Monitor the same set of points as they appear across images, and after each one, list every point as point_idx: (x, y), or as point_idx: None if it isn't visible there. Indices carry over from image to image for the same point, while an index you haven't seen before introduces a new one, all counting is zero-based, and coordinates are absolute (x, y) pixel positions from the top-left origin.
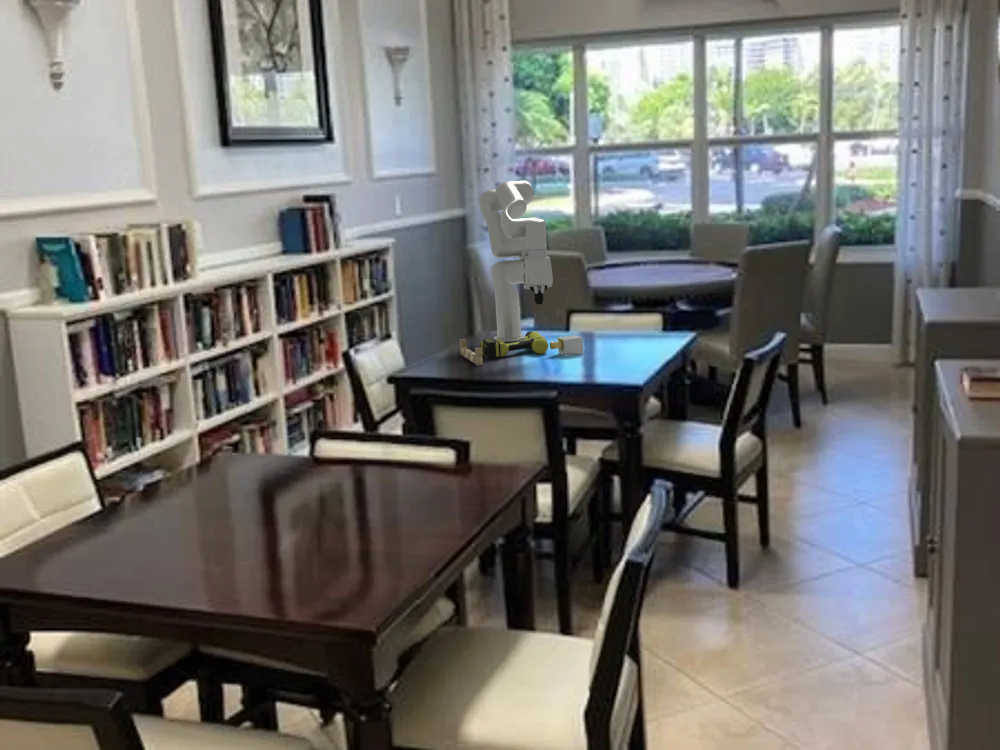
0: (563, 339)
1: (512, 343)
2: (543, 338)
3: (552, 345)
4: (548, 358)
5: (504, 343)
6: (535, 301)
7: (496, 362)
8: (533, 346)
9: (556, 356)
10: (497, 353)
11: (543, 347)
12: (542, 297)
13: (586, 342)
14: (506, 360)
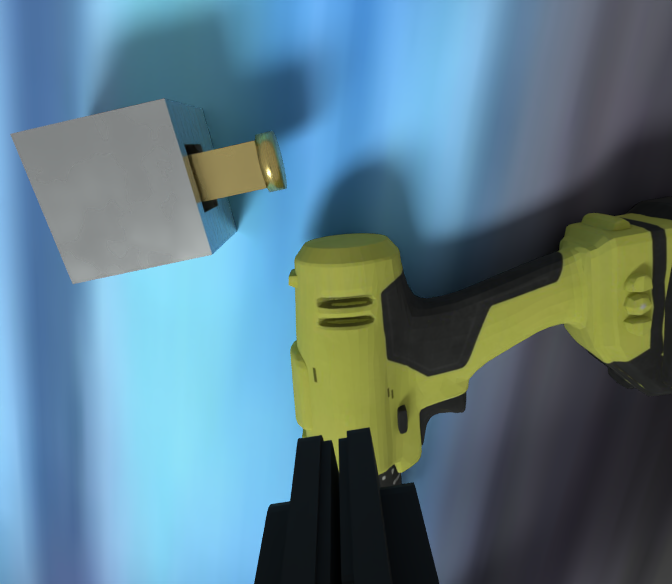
0: (170, 125)
1: (530, 310)
2: (315, 322)
3: (270, 131)
4: (314, 77)
5: (615, 239)
6: (414, 487)
7: (656, 74)
8: (394, 245)
9: (257, 130)
10: (631, 215)
11: (327, 240)
12: (274, 553)
13: (71, 483)
14: (580, 121)
